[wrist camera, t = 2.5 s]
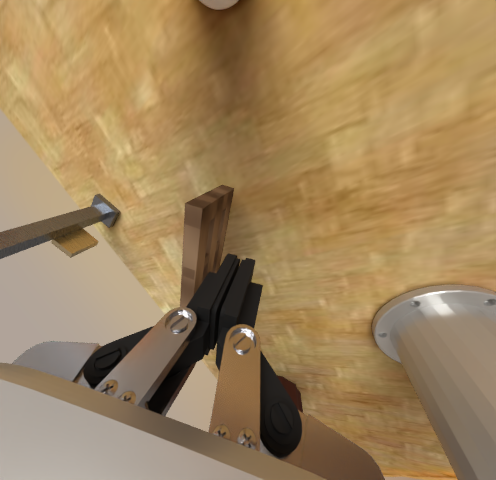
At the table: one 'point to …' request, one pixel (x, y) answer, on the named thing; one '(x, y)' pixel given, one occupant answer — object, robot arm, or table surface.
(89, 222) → the post
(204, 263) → the gate
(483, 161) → the table surface
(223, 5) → the drinking glass
